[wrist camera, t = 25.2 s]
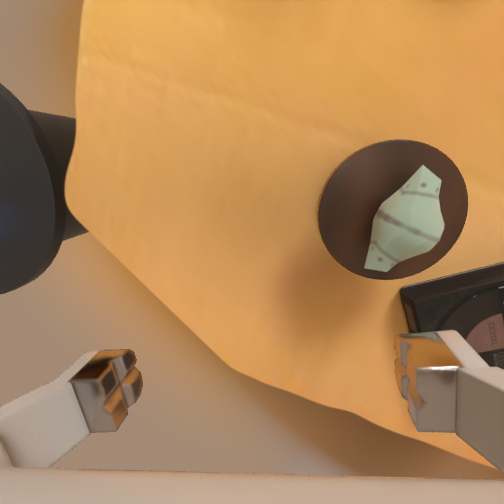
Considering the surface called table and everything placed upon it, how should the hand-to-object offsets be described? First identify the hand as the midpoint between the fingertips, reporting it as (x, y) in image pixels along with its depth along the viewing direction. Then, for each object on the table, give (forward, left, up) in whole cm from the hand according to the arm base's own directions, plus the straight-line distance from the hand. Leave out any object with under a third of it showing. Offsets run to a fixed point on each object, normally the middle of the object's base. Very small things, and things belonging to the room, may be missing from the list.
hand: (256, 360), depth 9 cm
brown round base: (+9, 0, -29) cm, 30 cm away
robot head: (+9, 0, -19) cm, 21 cm away
